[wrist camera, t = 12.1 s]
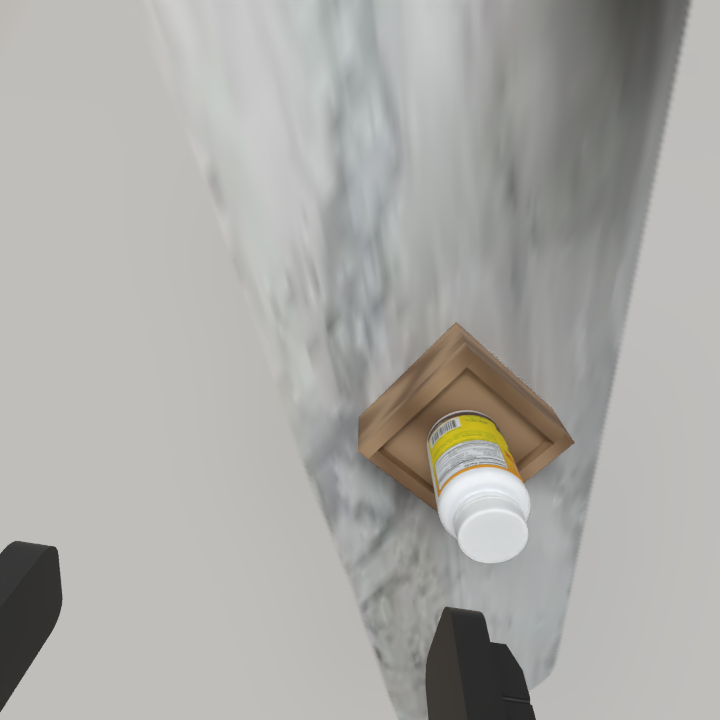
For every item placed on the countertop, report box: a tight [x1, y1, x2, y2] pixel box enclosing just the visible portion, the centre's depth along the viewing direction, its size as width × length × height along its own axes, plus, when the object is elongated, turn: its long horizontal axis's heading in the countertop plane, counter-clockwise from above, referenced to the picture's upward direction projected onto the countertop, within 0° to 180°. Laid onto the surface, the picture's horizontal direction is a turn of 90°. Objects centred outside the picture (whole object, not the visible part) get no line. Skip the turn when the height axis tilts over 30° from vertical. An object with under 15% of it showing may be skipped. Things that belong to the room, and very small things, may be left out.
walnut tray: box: [358, 323, 574, 512], centre depth 39 cm, size 11×11×5 cm
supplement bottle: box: [427, 410, 531, 564], centre depth 33 cm, size 6×6×10 cm
